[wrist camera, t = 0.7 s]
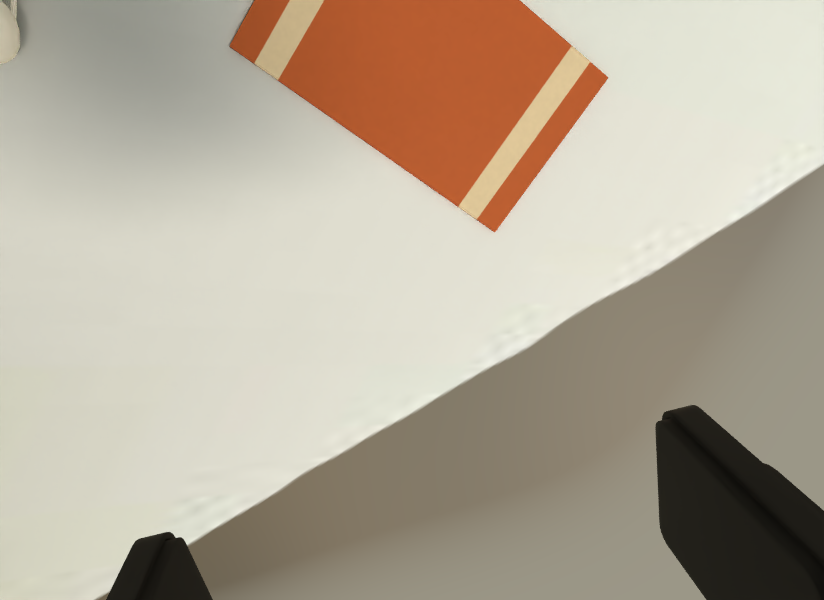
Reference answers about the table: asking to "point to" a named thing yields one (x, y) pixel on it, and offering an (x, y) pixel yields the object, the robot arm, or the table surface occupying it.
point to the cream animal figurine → (8, 32)
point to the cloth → (433, 85)
